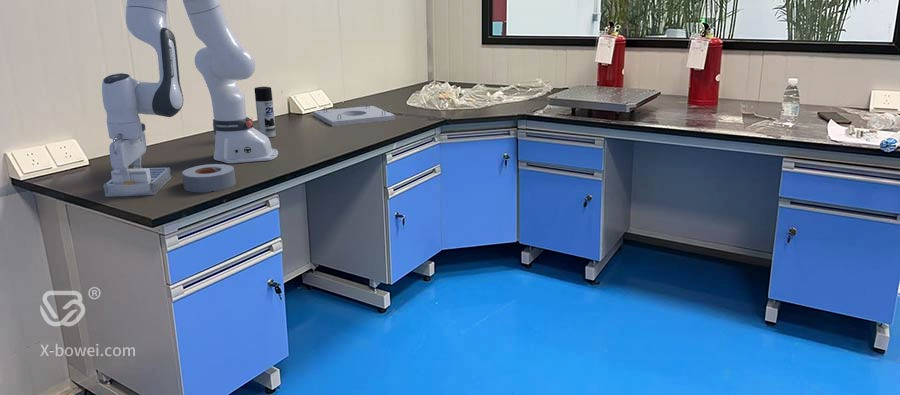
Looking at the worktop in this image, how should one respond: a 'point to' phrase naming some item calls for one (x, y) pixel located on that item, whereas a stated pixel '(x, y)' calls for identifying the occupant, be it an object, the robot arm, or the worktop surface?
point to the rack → (139, 185)
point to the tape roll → (208, 178)
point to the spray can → (265, 111)
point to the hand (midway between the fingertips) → (132, 175)
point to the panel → (132, 176)
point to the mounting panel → (353, 115)
